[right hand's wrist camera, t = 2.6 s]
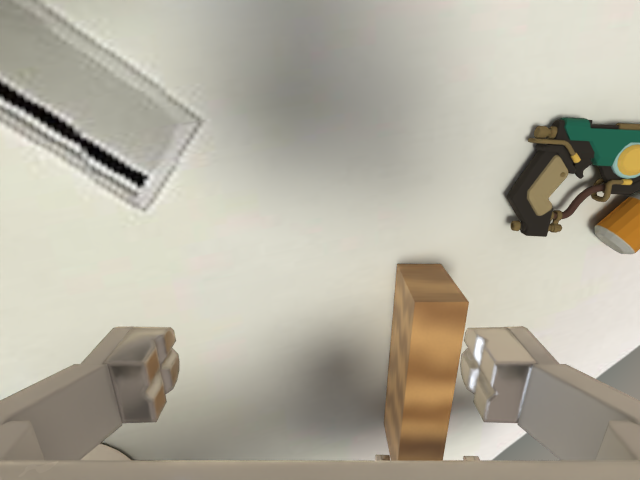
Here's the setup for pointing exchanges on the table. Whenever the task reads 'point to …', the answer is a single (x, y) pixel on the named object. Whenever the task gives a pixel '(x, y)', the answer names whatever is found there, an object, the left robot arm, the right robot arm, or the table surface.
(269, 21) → the table surface
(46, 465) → the right robot arm
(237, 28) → the table surface
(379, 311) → the table surface
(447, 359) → the bar
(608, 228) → the spray gun
